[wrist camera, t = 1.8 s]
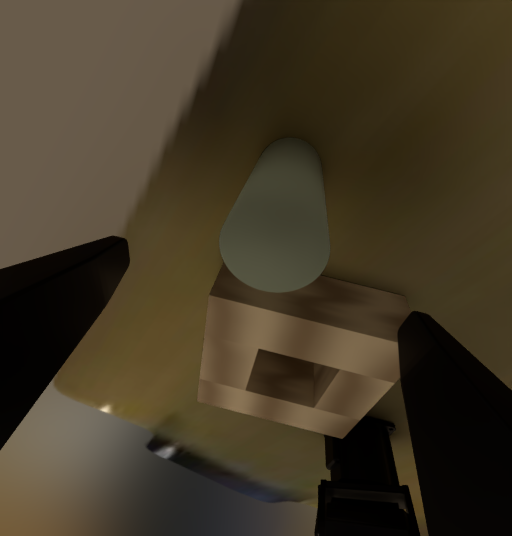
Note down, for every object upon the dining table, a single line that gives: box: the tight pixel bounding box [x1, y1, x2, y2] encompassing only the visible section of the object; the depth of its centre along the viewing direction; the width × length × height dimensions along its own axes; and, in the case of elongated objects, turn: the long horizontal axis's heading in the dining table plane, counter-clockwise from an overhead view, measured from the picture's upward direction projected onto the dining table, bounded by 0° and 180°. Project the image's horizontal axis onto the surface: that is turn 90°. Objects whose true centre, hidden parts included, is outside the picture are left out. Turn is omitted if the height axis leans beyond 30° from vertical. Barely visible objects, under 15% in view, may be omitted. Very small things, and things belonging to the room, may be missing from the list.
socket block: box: [197, 263, 411, 439], centre depth 24 cm, size 14×14×5 cm
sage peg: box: [219, 138, 330, 293], centre depth 14 cm, size 4×4×9 cm
